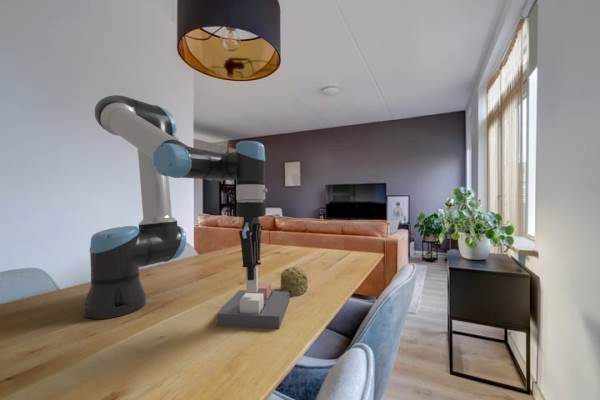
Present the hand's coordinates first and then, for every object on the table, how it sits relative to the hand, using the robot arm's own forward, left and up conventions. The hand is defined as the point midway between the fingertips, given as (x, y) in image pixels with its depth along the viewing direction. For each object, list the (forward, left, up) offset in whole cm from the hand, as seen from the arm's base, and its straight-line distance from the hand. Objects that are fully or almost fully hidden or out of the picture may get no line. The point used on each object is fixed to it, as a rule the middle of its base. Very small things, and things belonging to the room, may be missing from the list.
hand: (252, 290), depth 70 cm
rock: (+8, +23, -8) cm, 25 cm away
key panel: (0, +5, -8) cm, 9 cm away
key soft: (0, 0, -5) cm, 5 cm away
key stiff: (0, +9, -5) cm, 10 cm away
